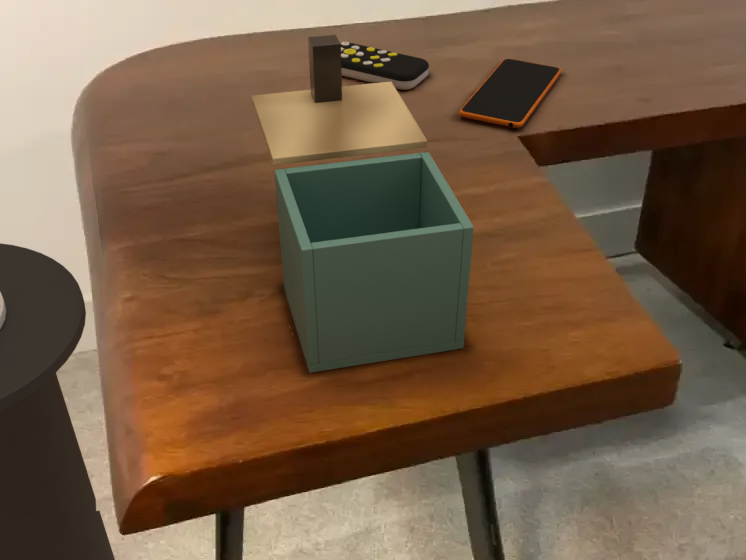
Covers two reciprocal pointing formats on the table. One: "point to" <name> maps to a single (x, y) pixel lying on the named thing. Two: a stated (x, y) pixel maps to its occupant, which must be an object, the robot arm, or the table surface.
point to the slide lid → (334, 114)
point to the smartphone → (510, 93)
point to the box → (373, 259)
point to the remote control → (382, 66)
